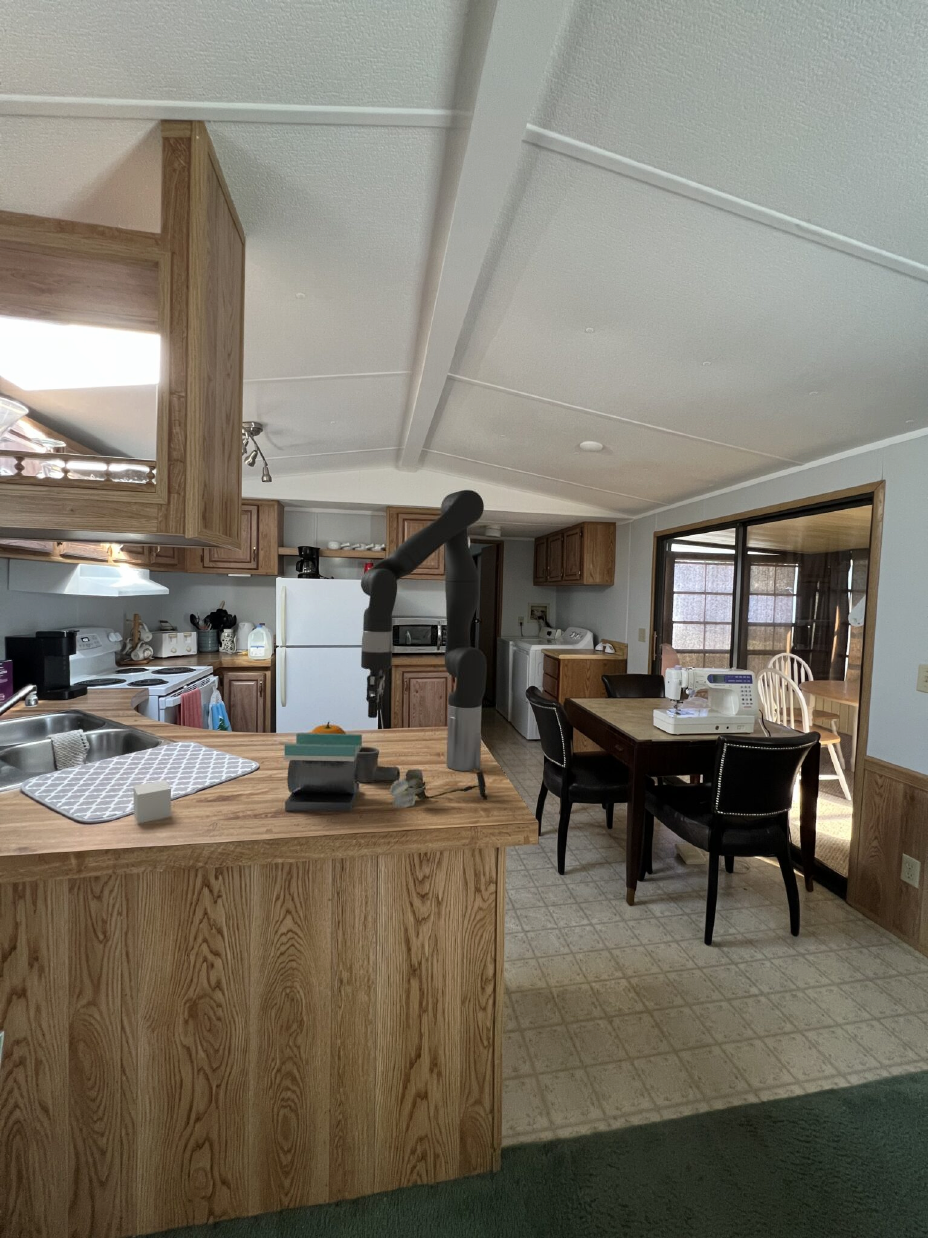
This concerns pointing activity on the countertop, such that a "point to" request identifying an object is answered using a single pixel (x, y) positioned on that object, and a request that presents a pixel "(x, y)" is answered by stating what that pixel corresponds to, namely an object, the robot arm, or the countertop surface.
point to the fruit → (328, 729)
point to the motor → (323, 772)
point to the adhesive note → (152, 801)
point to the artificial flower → (423, 788)
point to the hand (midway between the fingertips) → (375, 713)
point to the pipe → (374, 767)
